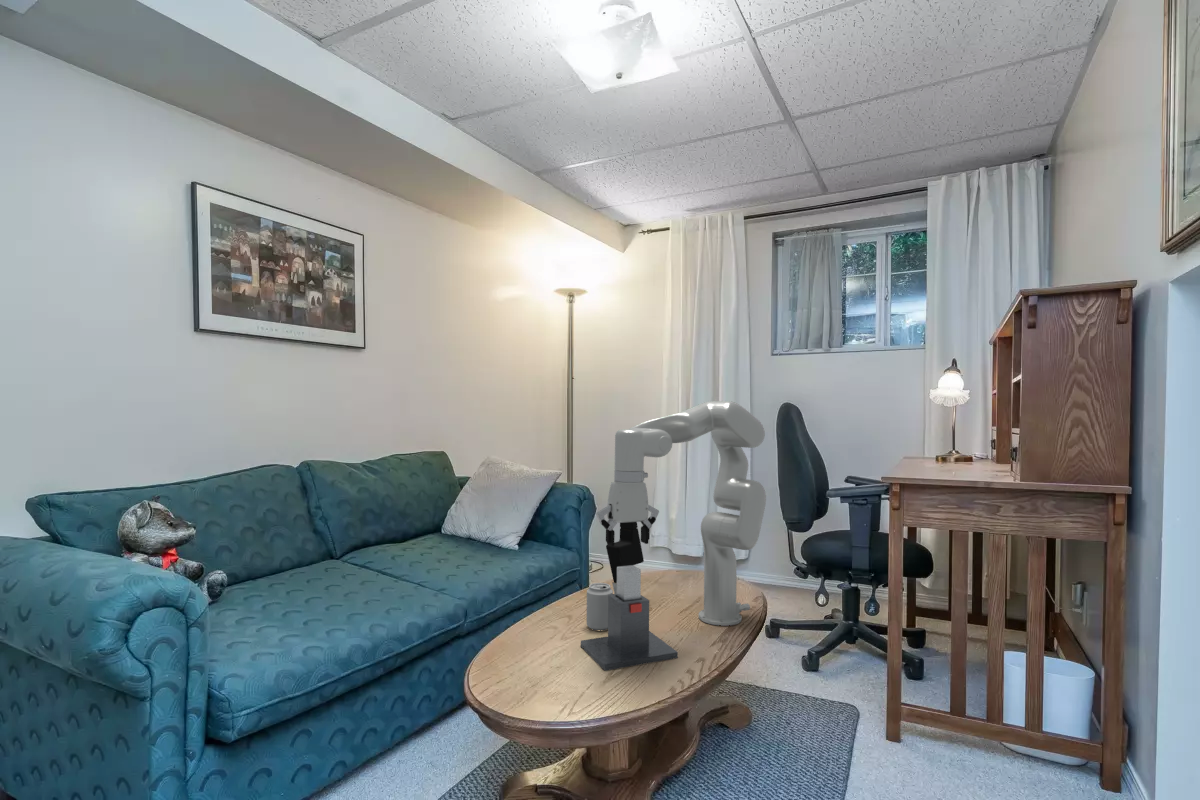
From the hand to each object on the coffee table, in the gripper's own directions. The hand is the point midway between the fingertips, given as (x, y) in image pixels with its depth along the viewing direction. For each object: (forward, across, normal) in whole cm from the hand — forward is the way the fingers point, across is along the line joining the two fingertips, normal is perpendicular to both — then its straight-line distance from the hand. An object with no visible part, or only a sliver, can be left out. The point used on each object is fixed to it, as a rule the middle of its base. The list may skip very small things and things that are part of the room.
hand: (627, 544), depth 156 cm
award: (+28, -17, -36) cm, 49 cm away
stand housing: (+28, -1, 0) cm, 28 cm away
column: (+26, -1, 0) cm, 26 cm away
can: (+28, -1, -19) cm, 34 cm away
